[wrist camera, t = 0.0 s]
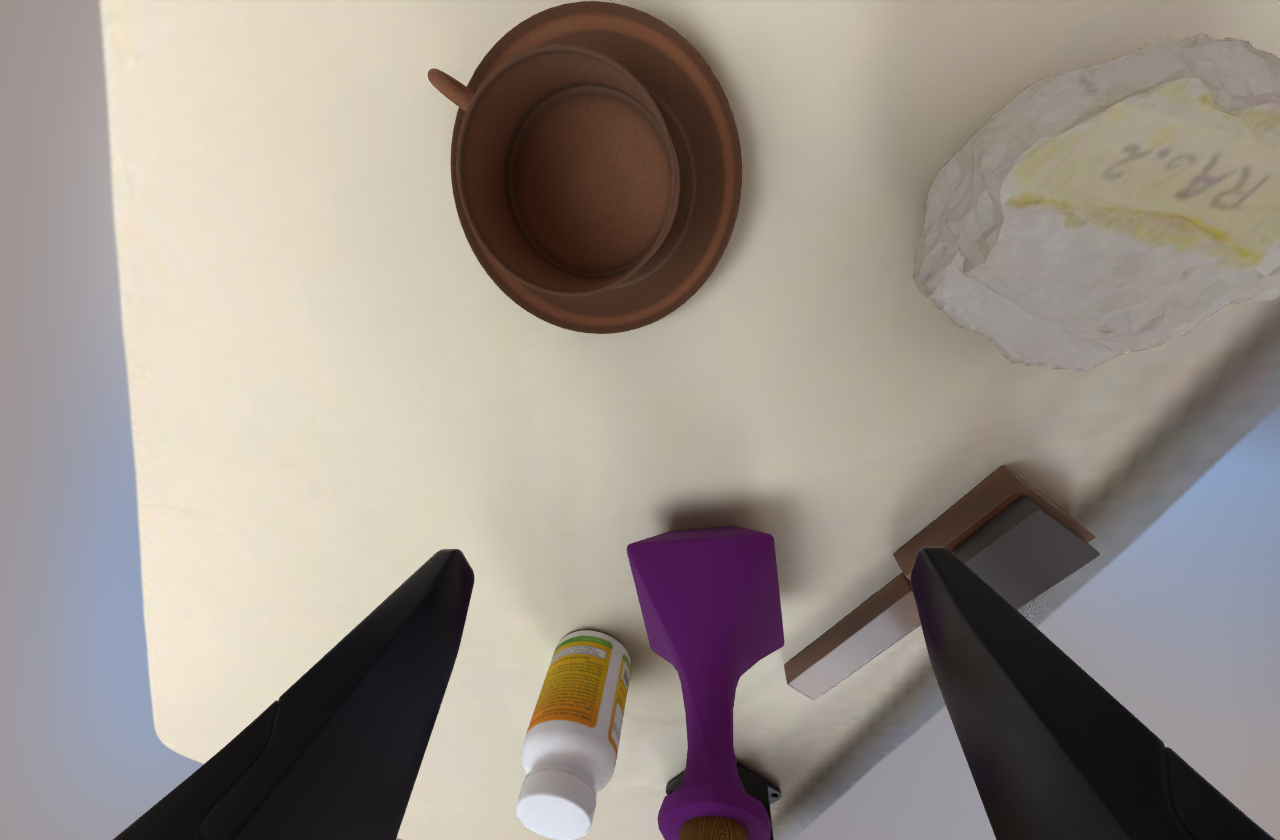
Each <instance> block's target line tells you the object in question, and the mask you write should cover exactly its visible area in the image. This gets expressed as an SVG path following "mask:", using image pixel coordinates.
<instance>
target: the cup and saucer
mask: <svg viewBox="0 0 1280 840" xmlns="http://www.w3.org/2000/svg"><path fill="white" fill-rule="evenodd" d="M428 78H429V80H430V82H431V83H432V84H433V86H434V87H435V88H436V89H438V90H439V91H440V92H441V93H442V94H443V95H444V96H446V97H447V98H448V99H449V100H451V101H452V102H453V103H455V104H456V105H457V106H459V109H458V112H457V116H456V121H455V125H454V130H453V138H452V145H451V179H452V187H453V194H454V199H455V204H456V209H457V212H458V216H459V219H460V222H461V225H462V228H463V230H464V233H465V236H466V238H467V240H468V242H469V244H470V246H471V248H472V250H473V252H474V254H475V256H476V257H477V259H478V261H479V262H480V264H481V265H482V267H483V268H484V270H485V271H486V272H487V274H488V275H489V276H490V278H491V279H492V280H493V281H494V282H495V284H496V285H497V286H498V287H499V288H500V289H501V290H502V291H503V292H504V293H505V294H506V295H507V296H508V297H509V298H511V299H512V300H513V301H514V302H515V303H516V304H518V305H519V306H521V307H522V308H523V309H525V310H526V311H528V312H529V313H531V314H533V315H534V316H536V317H538V318H540V319H542V320H544V321H546V322H548V323H550V324H553V325H556V326H559V327H561V328H565V329H569V330H573V331H577V332H584V333H595V334H607V333H618V332H625V331H629V330H633V329H637V328H640V327H643V326H646V325H648V324H651V323H653V322H655V321H657V320H659V319H661V318H663V317H665V316H667V315H668V314H670V313H671V312H673V311H674V310H676V309H677V308H678V307H680V306H681V305H683V304H684V303H685V302H686V301H687V300H688V299H689V298H690V297H692V296H693V295H694V294H695V293H696V292H697V291H698V289H699V288H700V287H701V286H702V285H703V284H704V283H705V281H706V280H707V279H708V277H709V276H710V275H711V273H712V272H713V270H714V269H715V267H716V265H717V264H718V262H719V261H720V259H721V257H722V255H723V253H724V251H725V249H726V247H727V244H728V242H729V239H730V237H731V234H732V231H733V228H734V224H735V221H736V217H737V213H738V208H739V202H740V195H741V185H742V162H741V150H740V143H739V138H738V132H737V128H736V124H735V121H734V117H733V114H732V111H731V108H730V106H729V103H728V100H727V98H726V96H725V94H724V92H723V90H722V88H721V85H720V83H719V82H718V80H717V78H716V77H715V75H714V74H713V72H712V70H711V69H710V67H709V66H708V64H707V63H706V62H705V61H704V59H703V58H702V57H701V55H700V54H699V53H698V52H697V51H696V50H695V49H694V48H693V47H692V45H691V44H690V43H689V42H688V41H687V40H685V39H684V38H683V37H682V36H681V35H680V34H678V33H677V32H676V31H675V30H674V29H672V28H671V27H669V26H668V25H666V24H665V23H663V22H662V21H660V20H658V19H656V18H654V17H652V16H651V15H649V14H647V13H645V12H642V11H639V10H636V9H634V8H631V7H628V6H624V5H619V4H615V3H608V2H598V1H590V2H576V3H569V4H563V5H560V6H556V7H553V8H549V9H547V10H545V11H542V12H540V13H538V14H535V15H533V16H532V17H530V18H528V19H526V20H525V21H523V22H521V23H520V24H518V25H517V26H516V27H514V28H513V29H512V30H510V31H509V32H508V33H507V34H505V35H504V36H503V37H502V38H501V39H500V40H499V41H498V42H497V43H496V44H495V45H494V46H493V47H492V49H491V50H490V51H489V52H488V53H487V54H486V56H485V57H484V59H483V60H482V61H481V63H480V64H479V66H478V67H477V69H476V70H475V72H474V74H473V76H472V78H471V80H470V81H469V83H468V86H467V87H466V86H464V85H463V84H462V83H460V82H459V81H457V80H456V79H454V78H452V77H451V76H449V75H448V74H446V73H444V72H442V71H440V70H438V69H430V70H429V72H428Z"/></svg>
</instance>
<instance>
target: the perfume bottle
mask: <svg viewBox="0 0 1280 840" xmlns="http://www.w3.org/2000/svg"><path fill="white" fill-rule="evenodd" d="M627 553H628V557H629V562H630V566H631V570H632V574H633V578H634V582H635V586H636V590H637V594H638V598H639V602H640V606H641V610H642V614H643V618H644V622H645V627H646V631H647V635H648V639H649V643H650V647H651V649H652V650H653V651H654V652H655V653H657V654H658V655H660V656H661V657H662V658H664V659H665V660H667V661H668V662H669V663H671V664H672V665H673V666H674V667H675V669H676V670H677V671H678V674H679V678H680V681H681V686H682V692H683V699H684V705H685V712H686V725H687V740H688V752H687V762H686V772H685V776H684V778H683V781H682V783H681V786H680V788H679V789H678V790H676V791H674V792H673V793H671V794H669V795H667V796H665V798H664V800H663V803H662V805H661V808H660V810H659V814H658V825H659V830H660V831H661V833H662V835H663V837H664V839H665V840H769V839H770V837H771V829H772V826H771V822H770V819H769V817H768V814H767V812H766V810H765V807H764V805H763V803H761V802H760V801H758V800H757V799H755V798H754V797H752V796H750V795H749V794H747V793H746V791H745V789H744V786H743V784H742V782H741V780H740V778H739V776H738V771H737V765H736V759H735V754H734V748H733V706H734V699H735V691H736V687H737V684H738V681H739V678H740V676H741V675H743V674H744V673H745V672H746V671H747V670H748V669H750V668H751V667H752V666H753V665H754V664H755V663H757V662H758V661H759V660H760V659H762V658H764V657H765V656H767V655H769V654H771V653H772V652H774V651H776V650H778V649H779V648H781V647H783V645H784V634H783V624H782V614H781V604H780V595H779V585H778V575H777V565H776V555H775V546H774V538H773V537H772V535H771V534H768V533H764V532H759V531H755V530H750V529H746V528H741V527H736V526H730V527H717V528H705V529H692V530H680V531H670V532H667V533H663V534H660V535H657V536H654V537H651V538H647V539H644V540H641V541H638V542H635V543H632V544H629V545H628V546H627Z"/></svg>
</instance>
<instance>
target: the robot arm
mask: <svg viewBox="0 0 1280 840" xmlns="http://www.w3.org/2000/svg"><path fill="white" fill-rule="evenodd" d="M910 579H911V586H912V590H913V594H914V598H915V602H916V606H917V610H918V614H919V618H920V622H921V626H922V630H923V634H924V638H925V642H926V646H927V649H928V653H929V657H930V661H931V664H932V668H933V671H934V674H935V677H936V680H937V683H938V685H939V688H940V691H941V693H942V696H943V699H944V701H945V704H946V707H947V709H948V711H949V714H950V717H951V720H952V722H953V725H954V728H955V730H956V733H957V736H958V738H959V741H960V743H961V746H962V749H963V752H964V754H965V757H966V760H967V762H968V765H969V768H970V770H971V773H972V776H973V778H974V781H975V784H976V786H977V789H978V791H979V794H980V797H981V800H982V802H983V805H984V808H985V810H986V813H987V816H988V818H989V821H990V824H991V826H992V829H993V832H994V834H995V837H996V840H1275V839H1274V838H1272V837H1271V836H1270V835H1269V834H1268V833H1266V832H1265V831H1264V830H1263V829H1262V828H1260V827H1259V826H1258V825H1257V824H1256V823H1254V822H1253V821H1252V820H1251V819H1250V818H1248V817H1247V816H1246V815H1245V814H1244V813H1243V812H1242V811H1241V810H1239V809H1238V808H1237V807H1236V806H1235V805H1234V804H1233V803H1231V802H1230V801H1229V800H1228V799H1227V798H1226V797H1224V796H1223V795H1222V794H1221V793H1220V792H1219V791H1218V790H1216V789H1215V788H1214V787H1213V786H1212V785H1211V784H1210V783H1209V782H1207V781H1206V780H1205V779H1204V778H1203V777H1202V776H1201V775H1199V774H1198V773H1197V772H1196V771H1195V770H1194V769H1193V768H1192V767H1191V766H1189V765H1188V764H1187V763H1186V762H1185V761H1184V760H1183V759H1181V758H1180V757H1179V756H1178V755H1177V754H1176V753H1175V752H1174V751H1173V750H1172V749H1170V748H1168V747H1165V746H1164V743H1163V742H1162V741H1161V740H1160V739H1159V738H1158V737H1157V736H1156V735H1154V733H1152V732H1151V731H1150V730H1149V729H1148V728H1147V727H1146V726H1145V725H1144V724H1143V723H1141V722H1140V721H1139V720H1138V719H1137V718H1136V717H1135V716H1134V715H1132V714H1131V713H1130V712H1129V711H1128V710H1127V709H1126V708H1125V707H1124V706H1123V705H1121V704H1120V703H1119V702H1118V701H1117V700H1116V699H1115V698H1114V697H1113V696H1111V695H1110V694H1109V693H1108V692H1107V691H1106V690H1105V689H1104V688H1103V687H1102V686H1100V685H1099V684H1098V683H1097V682H1096V681H1095V680H1094V679H1093V678H1091V677H1090V676H1089V675H1088V674H1087V673H1086V672H1085V671H1084V670H1082V668H1080V667H1079V666H1078V665H1077V664H1076V663H1075V662H1074V661H1073V660H1072V659H1070V658H1069V657H1068V656H1067V655H1066V654H1065V653H1064V652H1063V651H1062V650H1060V649H1059V648H1058V647H1057V646H1056V645H1055V644H1054V643H1052V641H1050V640H1049V639H1048V638H1047V637H1046V636H1045V635H1044V634H1043V633H1042V632H1040V631H1039V630H1038V629H1037V628H1036V627H1035V626H1034V625H1033V624H1032V623H1031V622H1029V621H1028V620H1027V619H1026V618H1025V617H1024V616H1023V615H1022V614H1021V613H1019V612H1018V611H1017V610H1016V609H1015V608H1014V607H1013V606H1012V605H1011V604H1009V603H1008V602H1007V601H1006V600H1005V599H1004V598H1003V597H1002V596H1001V595H999V594H998V593H997V592H996V591H995V590H994V589H993V588H992V587H991V586H989V585H988V584H987V583H986V582H985V581H984V580H983V579H982V578H981V577H979V576H978V575H977V574H976V573H975V572H974V571H973V570H972V569H971V568H970V567H968V566H967V565H966V564H965V563H964V562H963V561H962V560H961V559H960V558H958V557H957V556H956V555H955V554H954V553H953V552H952V551H951V550H949V549H948V548H945V547H941V546H932V547H922V548H920V549H919V551H918V553H917V556H916V559H915V562H914V565H913V568H912V571H911V576H910ZM473 585H474V573H473V570H472V568H471V567H470V565H469V563H468V561H467V560H466V558H465V556H464V554H463V553H462V551H460V550H459V549H443V550H440V551H438V552H437V553H436V554H434V555H433V556H432V557H431V558H430V559H429V560H428V561H427V562H426V563H425V564H424V565H422V566H421V567H420V568H419V569H418V570H417V571H416V572H415V573H414V574H413V575H412V576H411V577H409V578H408V579H407V580H406V581H405V582H404V583H403V584H402V585H401V586H400V587H399V588H398V589H396V590H395V591H394V592H393V593H392V594H391V595H390V596H389V597H388V598H387V599H386V600H385V601H383V602H382V603H381V604H380V605H379V606H378V607H377V608H376V609H375V610H374V611H373V612H372V613H370V614H369V615H368V616H367V617H366V618H365V619H364V620H363V621H362V622H361V623H360V624H358V625H357V626H356V627H355V628H354V629H353V630H352V631H351V632H350V633H349V634H348V635H347V636H345V637H344V638H343V639H342V640H341V641H340V642H339V643H338V644H337V645H336V646H335V647H334V648H332V649H331V650H330V651H329V652H328V653H327V654H326V655H325V656H324V657H323V658H322V659H321V660H319V661H318V662H317V663H316V664H315V665H314V666H313V667H312V668H311V669H310V670H309V671H308V672H306V673H305V674H304V675H303V676H302V677H301V678H300V679H299V680H298V681H297V682H296V683H295V684H293V685H292V686H291V687H290V688H289V689H288V690H287V691H286V692H285V693H284V694H283V695H281V697H280V698H279V701H275V702H274V703H273V704H272V705H270V706H269V707H268V708H267V709H266V710H265V711H264V712H263V713H262V714H261V715H260V716H259V717H257V718H256V719H255V720H254V721H253V722H252V723H251V724H250V725H249V726H247V727H246V728H245V729H244V730H243V731H242V732H241V733H240V734H238V735H237V736H236V737H235V738H234V739H233V740H232V741H231V742H230V743H228V744H227V745H226V746H225V747H224V748H223V749H222V750H220V751H219V752H218V753H217V754H216V755H214V756H213V757H212V758H211V759H210V760H209V761H207V762H206V763H205V764H204V765H203V766H201V767H200V768H199V769H198V770H197V771H196V772H194V773H193V774H192V775H191V776H190V777H188V778H187V779H186V780H185V781H184V782H182V783H181V784H180V785H179V786H177V788H175V789H174V790H173V791H171V792H170V793H169V794H168V795H167V796H166V797H164V798H163V799H162V800H160V801H159V802H158V803H157V804H156V805H154V806H153V807H152V808H151V809H150V810H148V811H147V812H146V813H145V814H143V815H142V816H141V817H140V818H139V819H137V820H136V821H135V822H134V823H133V824H131V825H130V826H129V827H128V828H127V829H125V830H124V831H123V832H122V833H120V834H119V835H118V836H117V837H116V838H115V839H113V840H396V837H397V834H398V831H399V828H400V825H401V822H402V820H403V817H404V814H405V811H406V808H407V805H408V802H409V799H410V796H411V793H412V790H413V787H414V784H415V781H416V778H417V775H418V772H419V769H420V766H421V763H422V760H423V757H424V754H425V751H426V748H427V745H428V742H429V739H430V736H431V733H432V730H433V727H434V724H435V721H436V718H437V715H438V712H439V709H440V706H441V703H442V700H443V697H444V694H445V691H446V688H447V685H448V682H449V679H450V676H451V673H452V670H453V667H454V664H455V660H456V657H457V654H458V650H459V646H460V642H461V638H462V634H463V629H464V625H465V620H466V616H467V611H468V607H469V603H470V598H471V594H472V589H473ZM736 765H737V771H738V776H739V778H740V780H741V782H742V784H743V786H744V789H745V791H746V793H747V794H749V795H750V796H752V797H754V798H755V799H757V800H758V801H760V802H761V803H763V805H764V807H765V810H766V812H767V814H768V817H769V819H770V822H771V812H770V804H772V803H774V802H775V801H777V800H779V799H780V798H781V797H782V794H781V789H780V788H779V787H778V786H776V785H775V784H773V783H771V782H769V781H768V780H766V779H764V778H762V777H761V776H759V775H757V774H756V773H754V772H752V771H750V770H749V769H747V768H745V767H743V766H742V765H740V764H738V763H737V762H736ZM685 772H686V771H685ZM685 772H684V773H682V774H681V775H680V776H678V777H677V778H676V779H674V780H673V781H671V782H670V783H669V784H667V786H666V794H667V795H669V794H671V793H673V792H674V791H676V790H678V789H679V788H680V786H681V783H682V781H683V778H684V776H685ZM771 826H772V822H771ZM769 840H773V831H772V829H771V837H770V839H769Z"/></svg>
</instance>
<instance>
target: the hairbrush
mask: <svg viewBox="0 0 1280 840" xmlns="http://www.w3.org/2000/svg"><path fill="white" fill-rule="evenodd" d="M1094 538H1095V536H1094V535H1093V534H1092V533H1090V532H1089V531H1088V530H1087V529H1086V528H1084V527H1083V526H1082V525H1081V524H1080V523H1078V522H1077V521H1076V520H1075V519H1074V518H1072V517H1071V516H1070V515H1069V514H1067V513H1066V512H1065V511H1063V510H1062V509H1061V508H1059V507H1058V506H1057V505H1055V504H1054V503H1053V502H1051V501H1050V500H1048V499H1047V498H1046V497H1044V496H1043V495H1042V494H1040V493H1039V492H1038V491H1036V490H1035V489H1034V488H1032V487H1031V486H1030V485H1028V484H1027V483H1026V482H1024V481H1023V480H1022V479H1020V478H1019V477H1018V476H1016V475H1015V474H1014V473H1012V472H1011V471H1010V470H1008V469H1007V468H1006V467H1004V466H1002V467H1000V468H999V469H998V470H997V471H996V472H994V473H993V474H992V475H991V476H989V477H988V478H987V479H986V480H984V481H983V482H982V483H981V484H979V485H978V486H977V487H976V488H975V489H973V490H972V491H971V492H970V493H968V494H967V495H966V496H965V497H963V498H962V499H961V500H960V501H958V502H957V503H956V504H955V505H954V506H952V507H951V508H950V509H949V510H947V511H946V512H945V513H944V514H942V515H941V516H940V517H939V518H938V519H936V520H935V521H934V522H933V523H931V524H930V525H929V526H928V527H926V528H925V529H924V530H923V531H921V532H920V533H919V534H918V535H917V536H915V537H914V538H913V539H912V540H910V541H909V542H908V543H907V544H905V545H904V546H903V547H902V548H900V549H899V550H898V551H897V552H896V553H894V554H893V555H894V557H895V559H896V561H897V562H898V564H899V566H900V568H901V570H902V572H903V573H904V574H900V575H899V576H898V577H896V578H895V579H894V580H893V581H891V582H890V583H889V584H888V585H886V586H885V587H884V588H882V589H881V590H880V591H879V592H877V593H876V594H875V595H873V596H872V597H871V598H870V599H868V600H867V601H866V602H865V603H863V604H862V605H861V606H859V607H858V608H857V609H856V610H854V611H853V612H852V613H850V614H849V615H848V616H847V617H845V618H844V619H843V620H842V621H840V622H839V623H838V624H836V625H835V626H834V627H833V628H831V629H830V630H829V631H827V632H826V633H825V634H824V635H822V636H821V637H820V638H818V639H817V640H816V641H815V642H813V643H812V644H811V645H810V646H808V647H807V648H806V649H804V650H803V651H802V652H801V653H799V654H798V655H797V656H795V657H794V658H793V659H792V660H790V661H789V662H788V663H787V664H785V665H784V668H785V674H786V680H787V684H788V685H789V686H791V687H793V688H794V689H796V690H797V691H799V692H801V693H802V694H804V695H806V696H807V697H809V698H810V699H812V700H816V699H817V698H818V697H820V696H821V695H823V694H824V693H825V692H827V691H828V690H830V689H831V688H833V687H834V686H835V685H837V684H838V683H840V682H841V681H842V680H844V679H845V678H847V677H848V676H849V675H851V674H852V673H854V672H855V671H856V670H858V669H859V668H861V667H862V666H863V665H865V664H866V663H868V662H869V661H870V660H872V659H873V658H875V657H876V656H877V655H879V654H880V653H882V652H883V651H884V650H886V649H887V648H889V647H890V646H892V645H893V644H894V643H896V642H897V641H899V640H900V639H901V638H903V637H904V636H906V635H907V634H908V633H910V632H911V631H913V630H914V629H915V628H917V627H918V626H920V625H921V622H920V618H919V614H918V610H917V606H916V602H915V598H914V594H913V590H912V586H911V579H910V576H911V571H912V568H913V565H914V562H915V559H916V556H917V553H918V551H919V549H920V548H922V547H932V546H941V547H945V548H948V549H949V550H951V551H952V552H953V553H954V554H955V555H956V556H957V557H958V558H960V559H961V560H962V561H963V562H964V563H965V564H966V565H967V566H968V567H970V568H971V569H972V570H973V571H974V572H975V573H976V574H977V575H978V576H979V577H981V578H982V579H983V580H984V581H985V582H986V583H987V584H988V585H989V586H991V587H992V588H993V589H994V590H995V591H996V592H997V593H998V594H999V595H1001V596H1002V597H1003V598H1004V599H1005V600H1006V601H1007V602H1008V603H1009V604H1011V605H1012V606H1013V607H1014V608H1015V609H1016V610H1017V609H1019V608H1020V607H1022V606H1023V605H1025V604H1027V603H1028V602H1030V601H1031V600H1033V599H1034V598H1036V597H1037V596H1039V595H1040V594H1042V593H1043V592H1045V591H1046V590H1048V589H1049V588H1051V587H1052V586H1054V585H1055V584H1057V583H1058V582H1060V581H1061V580H1063V579H1064V578H1066V577H1067V576H1069V575H1070V574H1072V573H1073V572H1075V571H1076V570H1078V569H1080V568H1081V567H1083V566H1084V565H1086V564H1087V563H1089V562H1090V561H1092V560H1093V559H1095V558H1096V557H1098V556H1099V555H1100V553H1099V552H1098V551H1097V550H1096V549H1094V548H1093V547H1092V546H1091V545H1090V544H1089V543H1088V542H1090V541H1091V540H1092V539H1094Z"/></svg>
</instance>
